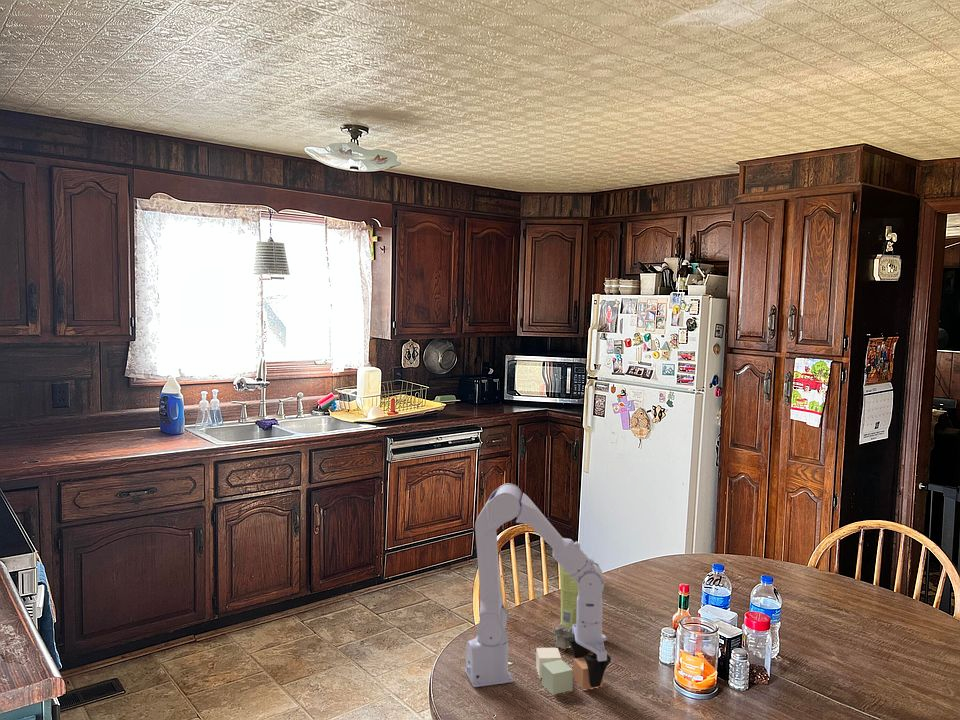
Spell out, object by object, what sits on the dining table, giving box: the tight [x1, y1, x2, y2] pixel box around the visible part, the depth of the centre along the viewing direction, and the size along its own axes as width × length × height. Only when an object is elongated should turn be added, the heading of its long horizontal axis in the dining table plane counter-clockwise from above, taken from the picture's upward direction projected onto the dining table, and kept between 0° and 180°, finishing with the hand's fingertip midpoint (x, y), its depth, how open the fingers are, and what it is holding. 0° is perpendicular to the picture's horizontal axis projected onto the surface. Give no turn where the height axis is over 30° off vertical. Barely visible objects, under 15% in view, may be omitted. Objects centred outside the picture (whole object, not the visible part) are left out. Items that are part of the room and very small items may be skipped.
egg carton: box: [553, 625, 574, 649], centre depth 182 cm, size 11×8×4 cm
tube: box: [558, 563, 578, 627], centre depth 192 cm, size 6×5×20 cm
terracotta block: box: [572, 657, 604, 690], centre depth 162 cm, size 5×5×5 cm
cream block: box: [535, 647, 562, 679], centre depth 167 cm, size 5×5×5 cm
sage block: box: [541, 659, 574, 696], centre depth 160 cm, size 5×5×5 cm
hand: (588, 677), depth 163 cm, fingers open, 7 cm apart
